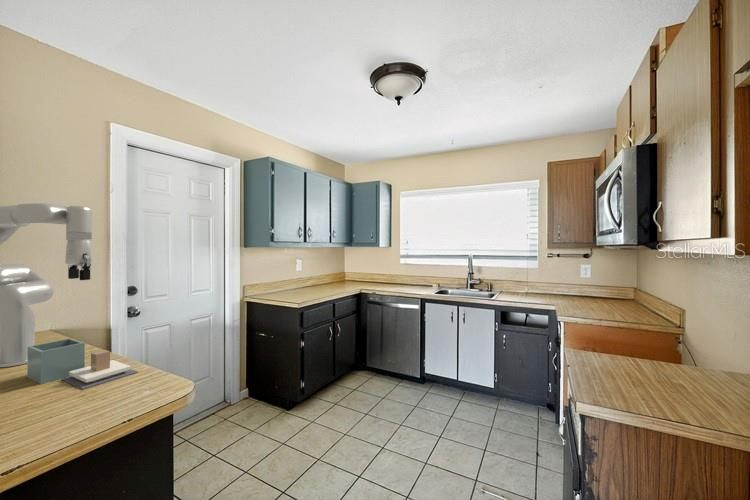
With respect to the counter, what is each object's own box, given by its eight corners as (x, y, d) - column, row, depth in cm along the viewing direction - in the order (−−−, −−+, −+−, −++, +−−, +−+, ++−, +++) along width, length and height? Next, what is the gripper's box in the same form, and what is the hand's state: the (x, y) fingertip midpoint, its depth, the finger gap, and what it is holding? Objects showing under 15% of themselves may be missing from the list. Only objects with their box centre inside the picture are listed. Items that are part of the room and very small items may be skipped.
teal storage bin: (27, 377, 112) (27, 346, 112) (70, 366, 123) (70, 338, 123) (41, 384, 107) (40, 351, 107) (84, 372, 118) (84, 342, 117)
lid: (68, 377, 112) (68, 354, 112) (112, 365, 123) (112, 344, 123) (86, 385, 106) (86, 361, 106) (130, 372, 117) (130, 350, 117)
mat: (61, 379, 111) (61, 378, 111) (115, 364, 125) (115, 363, 125) (83, 389, 104) (83, 388, 104) (137, 372, 118) (137, 371, 118)
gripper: (57, 236, 128) (57, 278, 129) (77, 236, 120) (77, 281, 121) (81, 237, 135) (81, 277, 135) (101, 237, 127) (101, 279, 127)
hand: (79, 279), depth 128 cm, fingers open, 9 cm apart
